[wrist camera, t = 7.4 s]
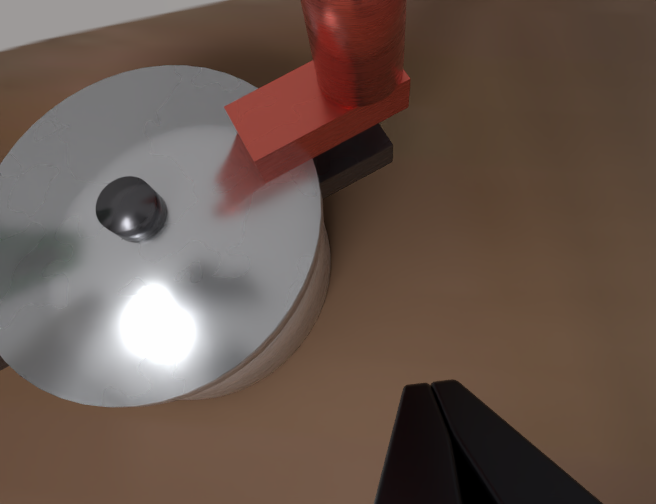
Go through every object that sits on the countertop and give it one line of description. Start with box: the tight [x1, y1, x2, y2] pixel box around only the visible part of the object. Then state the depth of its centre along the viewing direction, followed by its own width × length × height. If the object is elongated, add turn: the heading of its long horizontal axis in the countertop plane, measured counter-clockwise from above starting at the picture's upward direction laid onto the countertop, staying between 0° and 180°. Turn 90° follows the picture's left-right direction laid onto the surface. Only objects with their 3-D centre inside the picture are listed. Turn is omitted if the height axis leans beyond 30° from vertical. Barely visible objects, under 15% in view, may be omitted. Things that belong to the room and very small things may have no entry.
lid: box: [0, 0, 410, 407], centre depth 12 cm, size 15×12×8 cm
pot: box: [0, 123, 393, 400], centre depth 18 cm, size 16×11×4 cm
